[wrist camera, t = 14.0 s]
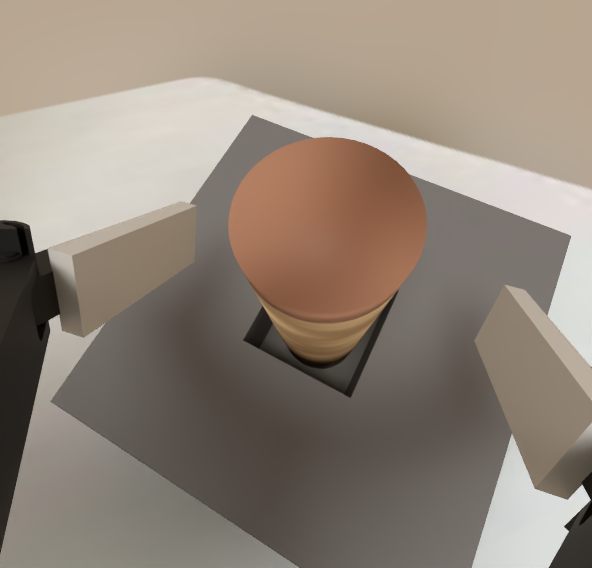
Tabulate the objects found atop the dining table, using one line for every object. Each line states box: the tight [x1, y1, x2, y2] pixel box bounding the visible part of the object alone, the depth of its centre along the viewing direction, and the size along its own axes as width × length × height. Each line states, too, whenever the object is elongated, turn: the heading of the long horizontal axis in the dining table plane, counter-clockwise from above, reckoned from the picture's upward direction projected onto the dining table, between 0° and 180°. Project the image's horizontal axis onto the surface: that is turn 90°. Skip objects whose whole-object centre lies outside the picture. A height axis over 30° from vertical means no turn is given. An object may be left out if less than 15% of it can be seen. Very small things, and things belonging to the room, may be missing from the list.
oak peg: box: [228, 137, 427, 369], centre depth 16 cm, size 5×5×16 cm
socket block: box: [51, 115, 571, 568], centre depth 22 cm, size 22×22×6 cm
